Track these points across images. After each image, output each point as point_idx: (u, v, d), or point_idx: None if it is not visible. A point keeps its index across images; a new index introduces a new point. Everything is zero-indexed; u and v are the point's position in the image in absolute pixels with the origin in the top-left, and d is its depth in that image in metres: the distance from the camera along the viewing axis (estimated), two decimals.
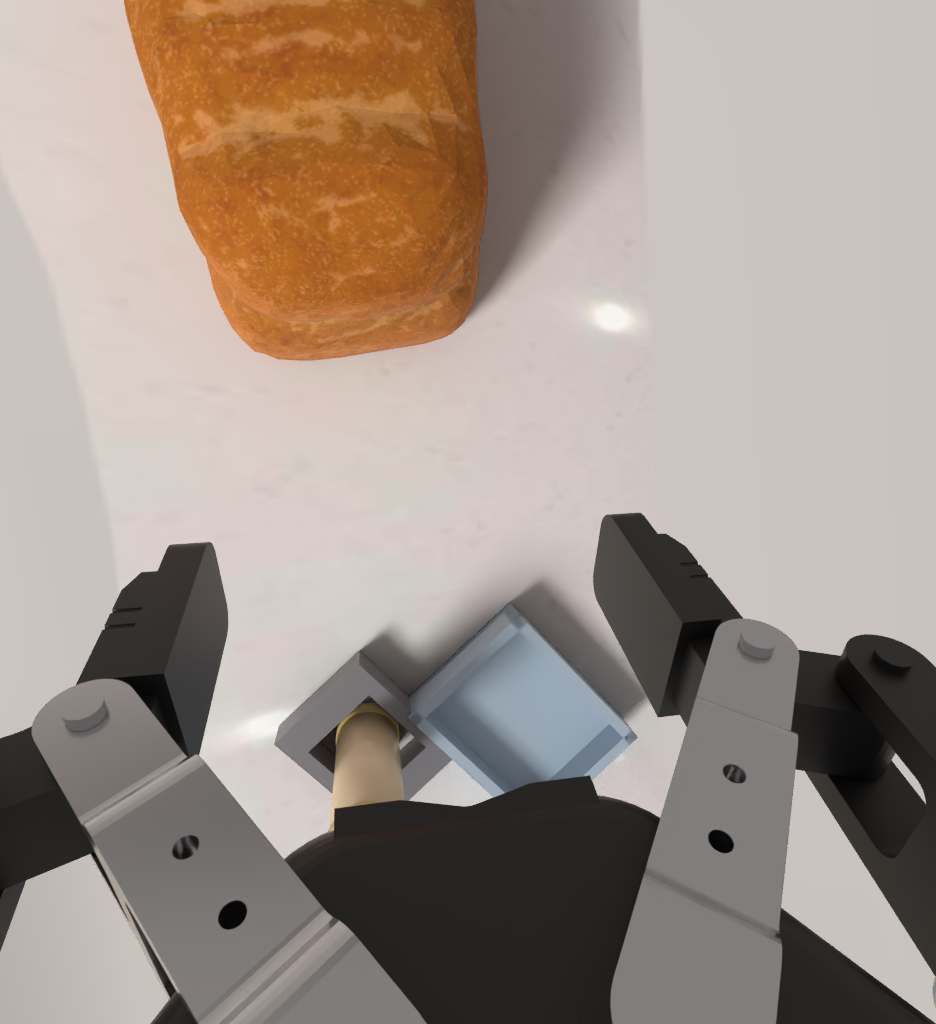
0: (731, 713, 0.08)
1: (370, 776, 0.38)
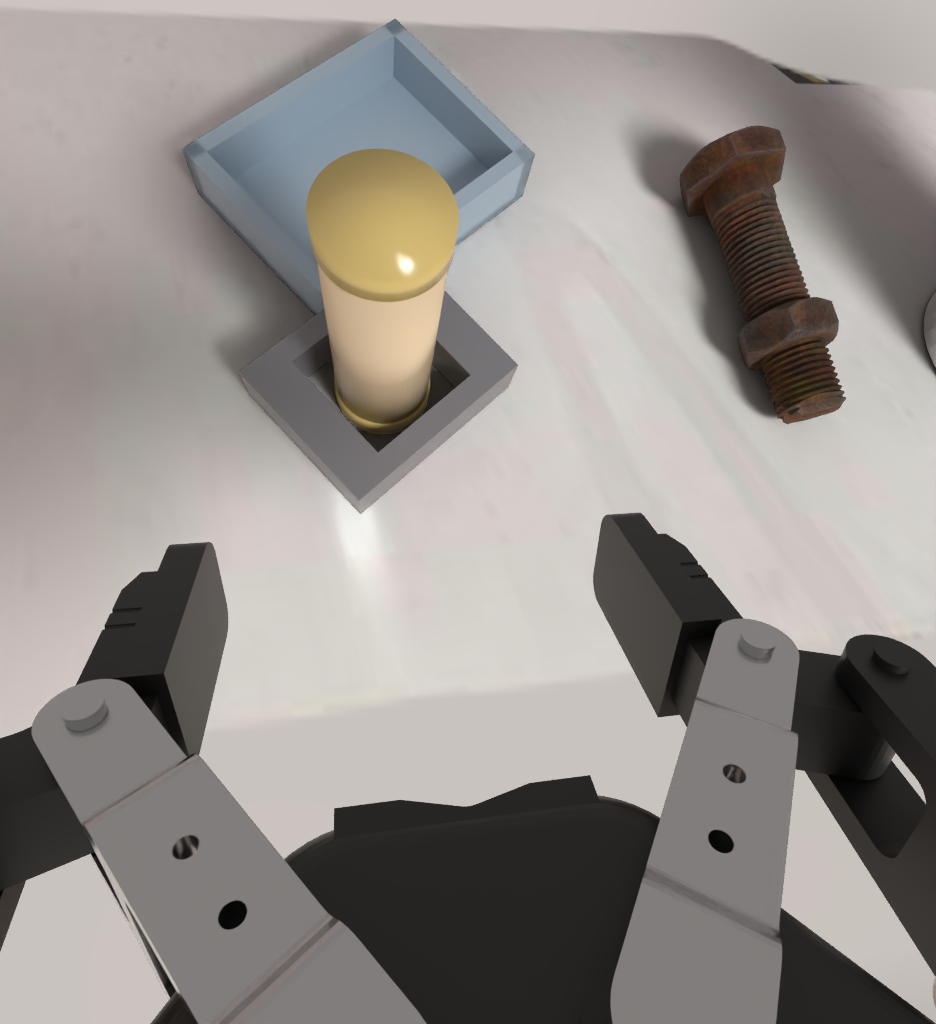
0: (731, 713, 0.08)
1: None
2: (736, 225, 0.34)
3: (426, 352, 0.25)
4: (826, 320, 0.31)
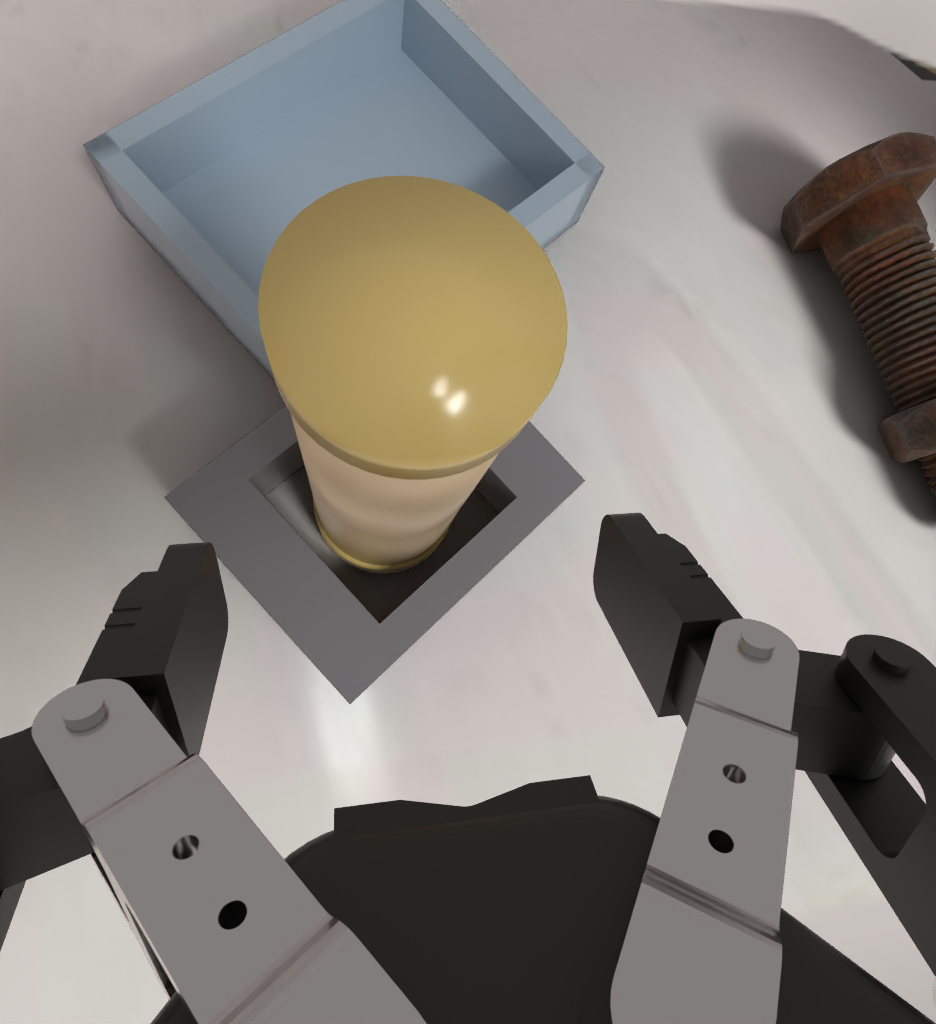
0: (731, 713, 0.08)
1: None
2: (879, 272, 0.24)
3: (466, 499, 0.15)
4: None
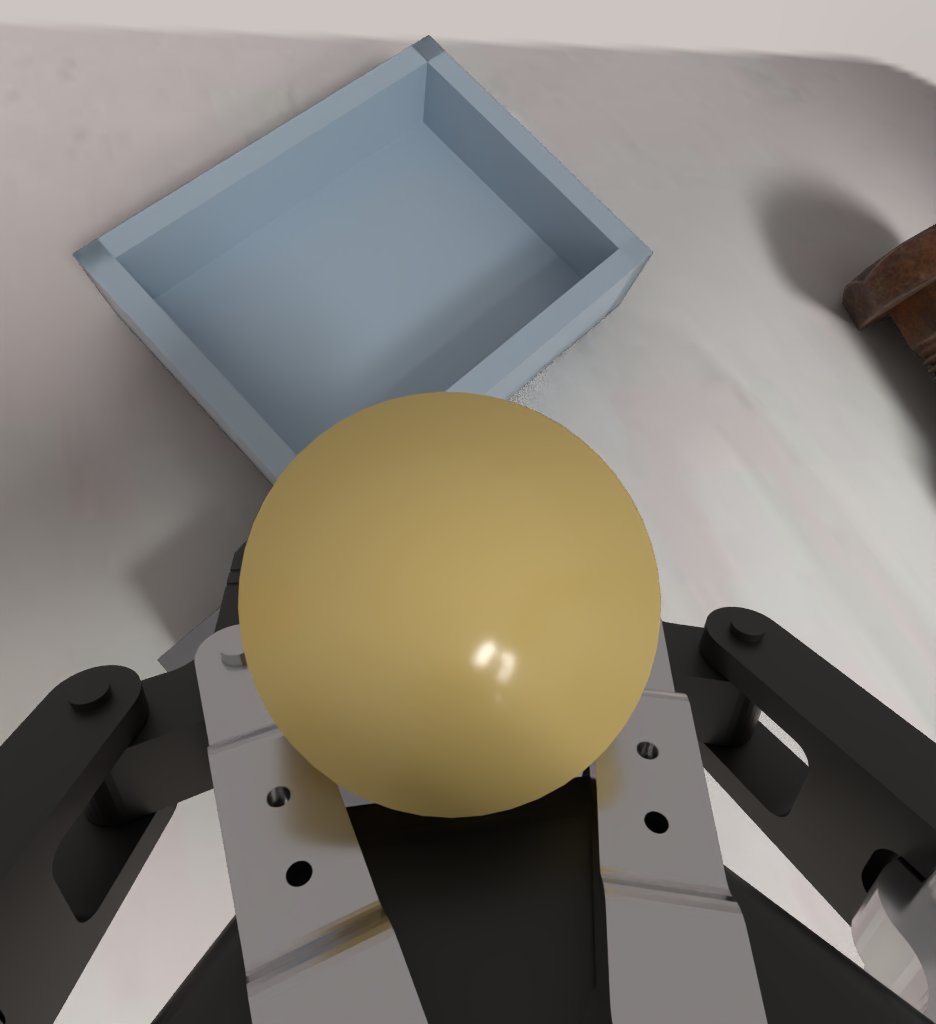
0: None
1: None
2: None
3: None
4: None
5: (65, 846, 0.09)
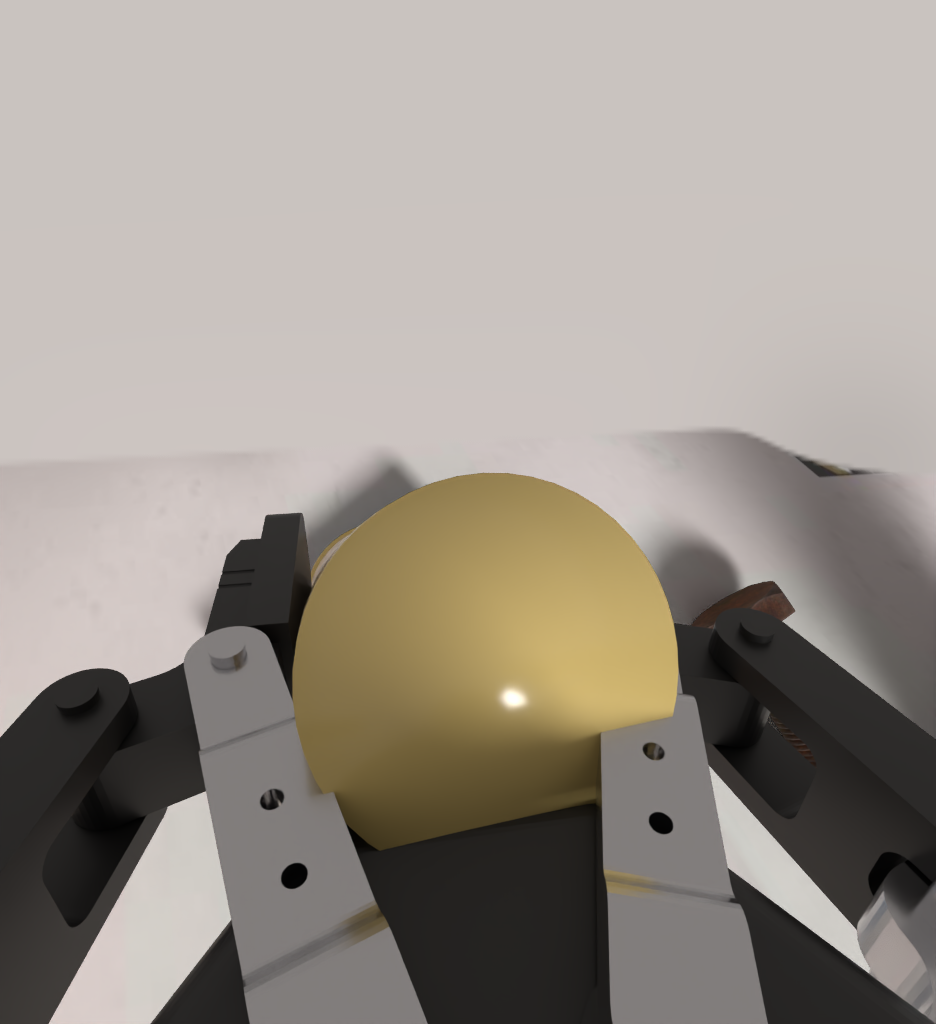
0: None
1: None
2: None
3: None
4: None
5: (55, 851, 0.09)
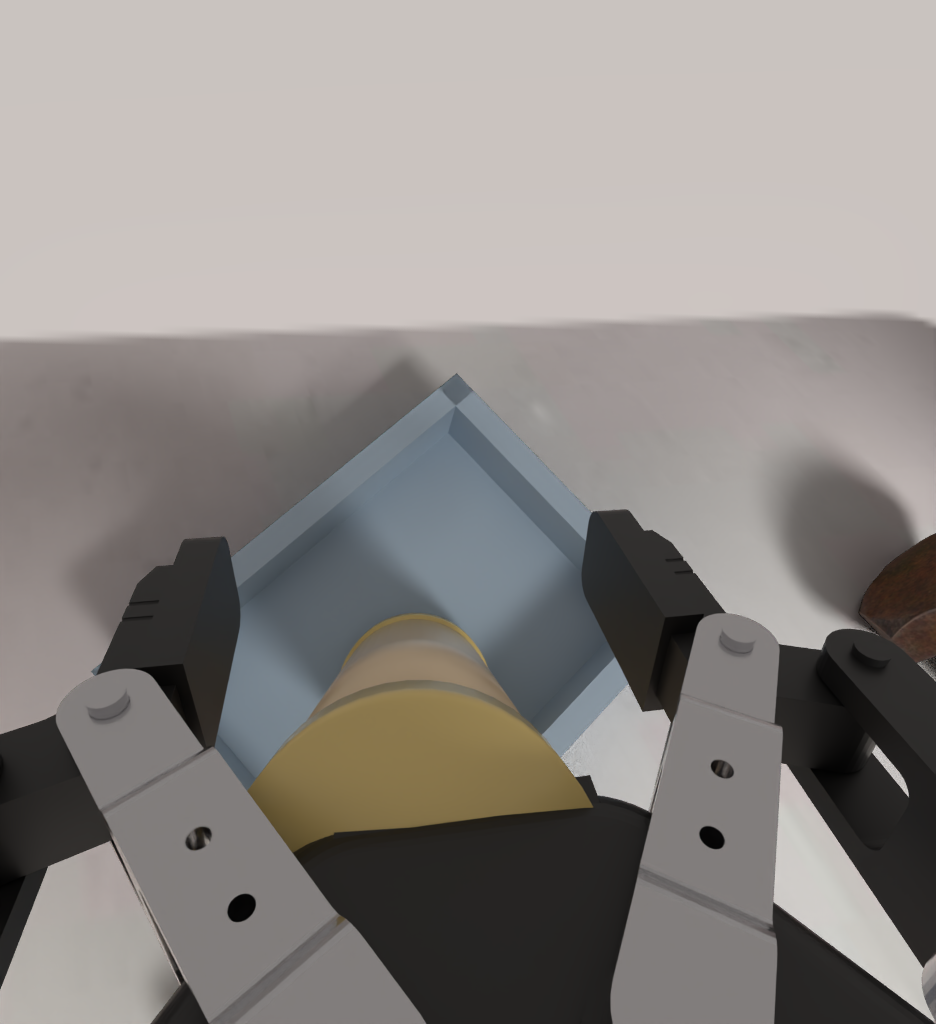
0: (716, 708, 0.08)
1: None
2: None
3: None
4: None
5: None
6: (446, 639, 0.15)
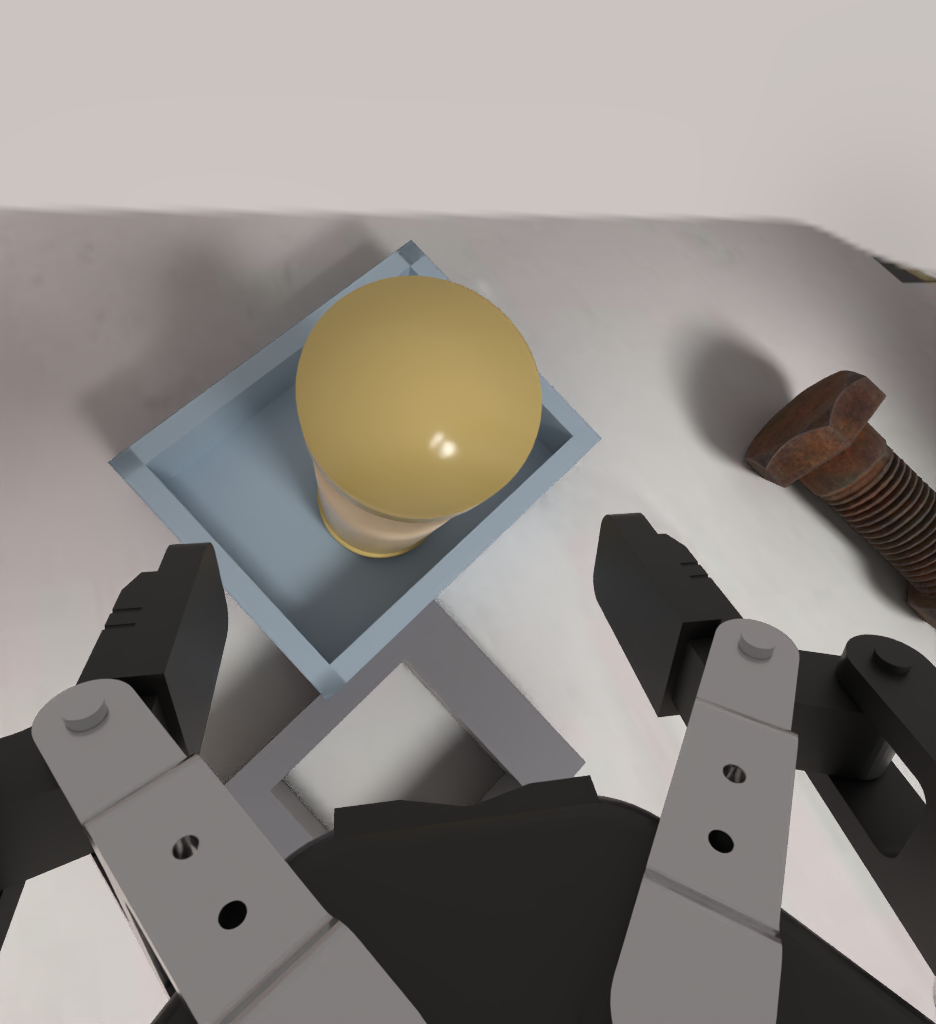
0: (731, 713, 0.08)
1: None
2: (867, 504, 0.26)
3: None
4: None
5: None
6: None
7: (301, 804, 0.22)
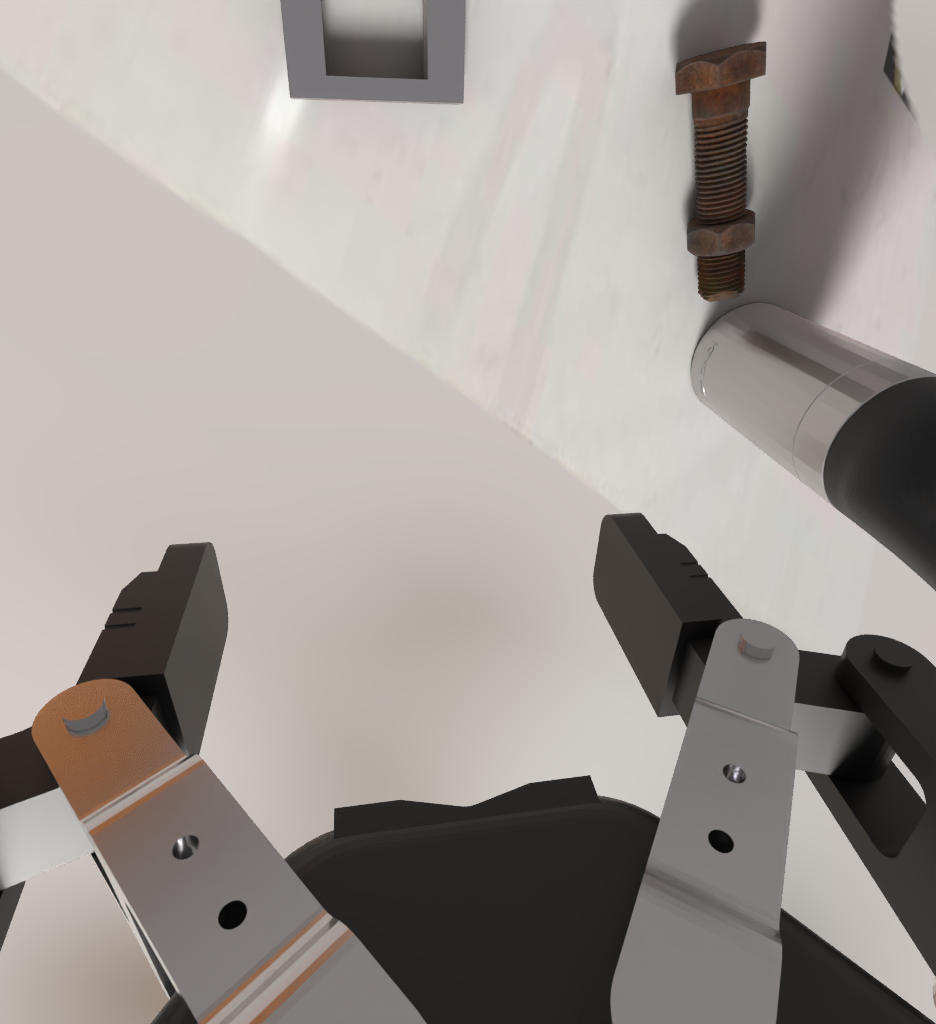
0: (731, 713, 0.08)
1: None
2: (707, 139, 0.41)
3: None
4: (744, 242, 0.43)
5: None
6: None
7: None
